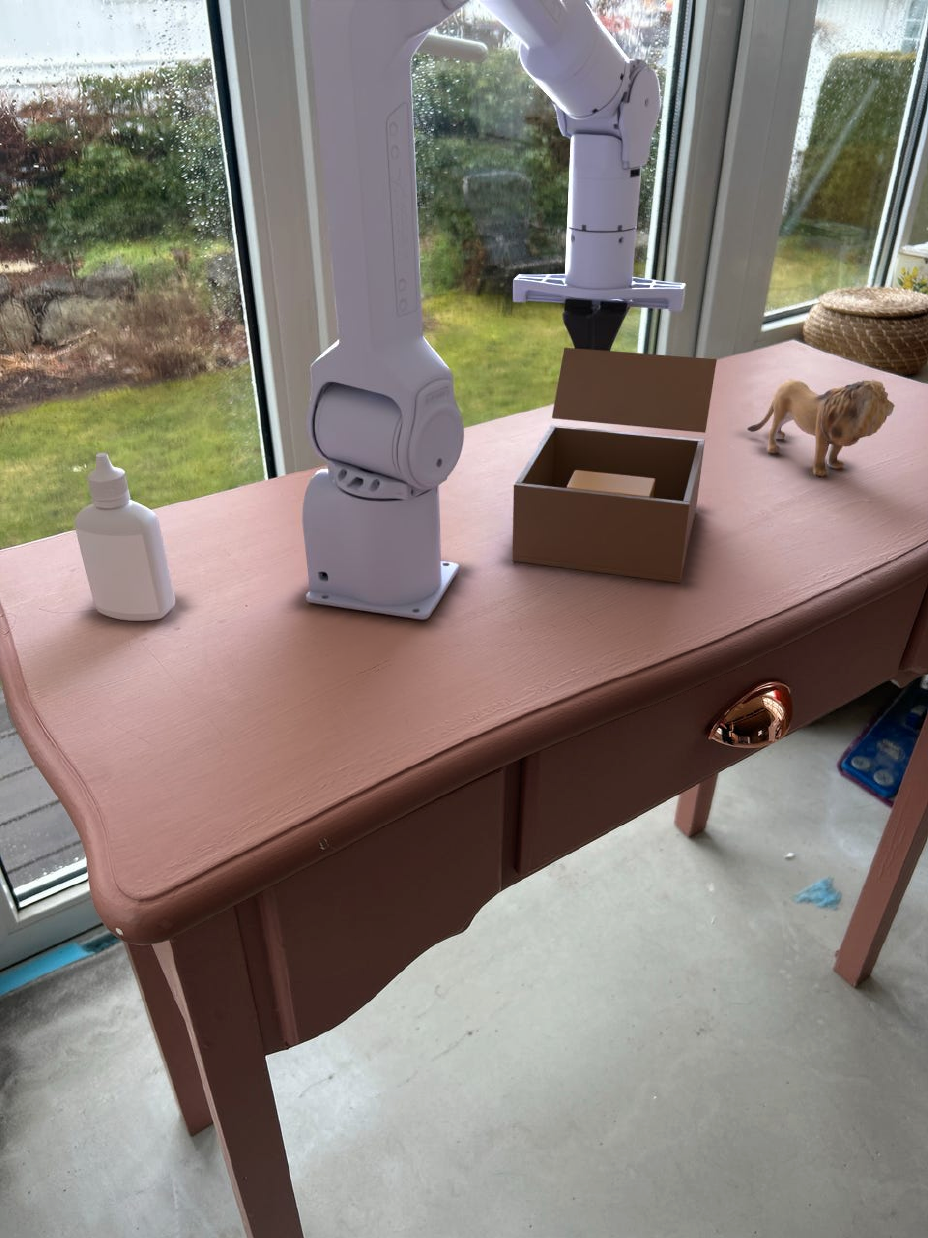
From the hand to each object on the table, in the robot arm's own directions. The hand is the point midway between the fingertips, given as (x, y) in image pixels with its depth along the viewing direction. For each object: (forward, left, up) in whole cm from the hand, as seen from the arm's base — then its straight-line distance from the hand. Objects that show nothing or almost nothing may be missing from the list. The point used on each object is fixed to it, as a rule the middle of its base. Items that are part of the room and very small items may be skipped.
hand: (592, 386), depth 86 cm
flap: (+4, -5, +2) cm, 7 cm away
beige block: (+4, -14, -7) cm, 17 cm away
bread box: (+4, -13, -8) cm, 16 cm away
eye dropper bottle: (-27, -34, -8) cm, 44 cm away
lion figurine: (+20, +8, -8) cm, 23 cm away
